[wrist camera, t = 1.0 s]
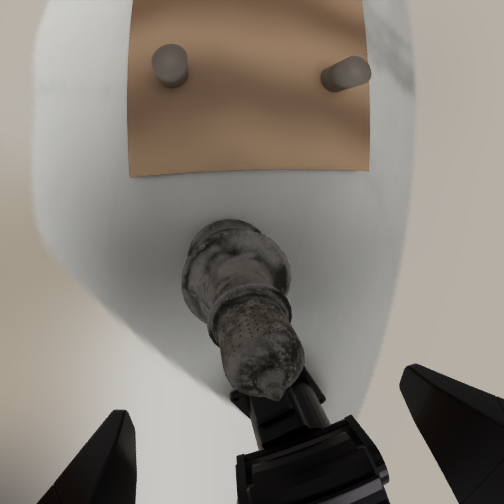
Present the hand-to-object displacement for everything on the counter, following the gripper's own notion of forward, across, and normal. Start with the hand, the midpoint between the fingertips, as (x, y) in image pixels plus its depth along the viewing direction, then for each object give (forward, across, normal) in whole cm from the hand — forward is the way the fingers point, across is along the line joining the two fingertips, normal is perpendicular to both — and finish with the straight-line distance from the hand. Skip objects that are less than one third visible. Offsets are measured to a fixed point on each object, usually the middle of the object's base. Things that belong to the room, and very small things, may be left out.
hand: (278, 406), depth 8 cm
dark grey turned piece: (+12, 0, 0) cm, 12 cm away
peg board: (+12, -2, -16) cm, 20 cm away
